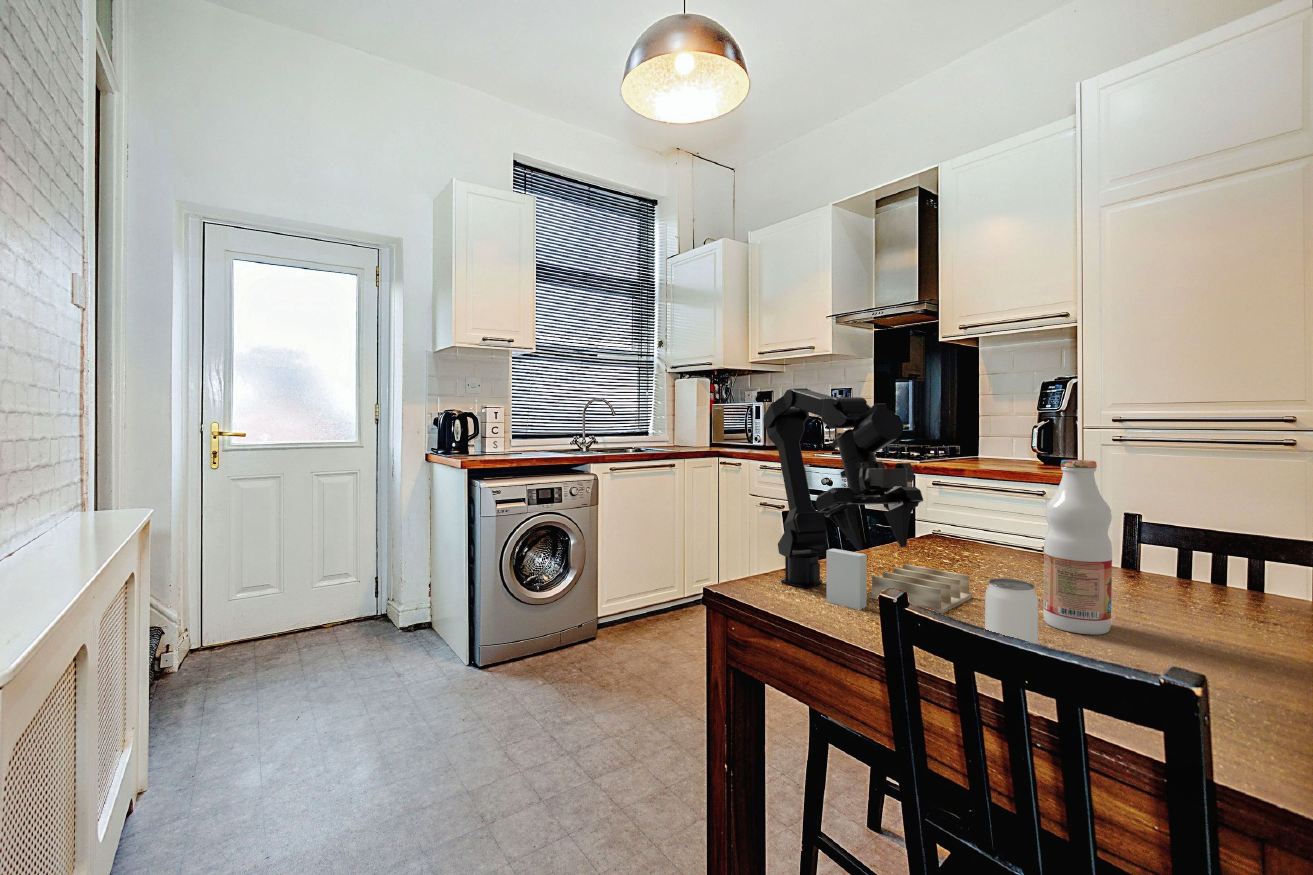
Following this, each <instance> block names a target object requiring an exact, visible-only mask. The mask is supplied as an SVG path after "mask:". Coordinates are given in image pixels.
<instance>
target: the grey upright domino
mask: <svg viewBox="0 0 1313 875" xmlns="http://www.w3.org/2000/svg"><path fill="white" fill-rule="evenodd" d="M825 554H826V557H825V558H826V560H825V562H826V564H825V565H826V582H825V583H826V591H825V592H826V602H827V603H830V604H834V605H839V606H842V607H846V608H849V609H855V610H858V609H859V611H861V610H863V609H865V607H866V608H867V587H868V586H867V580H868V579H867V576H868V575H867V574H868V573H867V567H868V566H867V565H868V564H867V559H868V558H867V554H866V553H861V552H854V551H849V550H845V549H838V548H830V549H827V550H825ZM862 608H863V609H862ZM860 609H861V610H860Z"/></svg>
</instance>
